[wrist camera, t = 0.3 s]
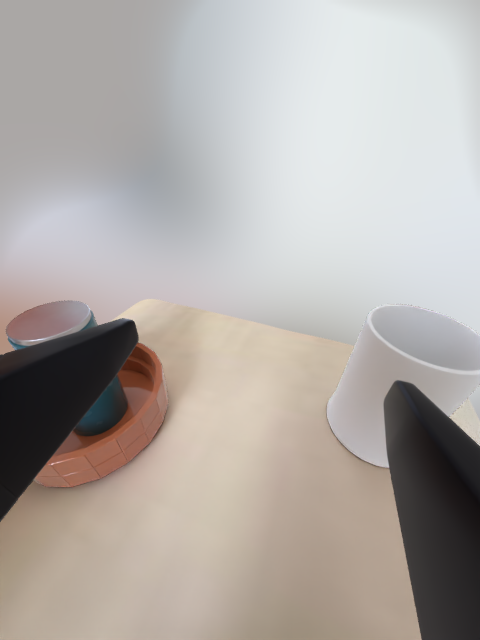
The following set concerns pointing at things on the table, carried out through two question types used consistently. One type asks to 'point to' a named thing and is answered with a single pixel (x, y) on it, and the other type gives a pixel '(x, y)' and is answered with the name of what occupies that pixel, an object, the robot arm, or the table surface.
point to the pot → (114, 427)
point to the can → (61, 322)
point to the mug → (401, 372)
